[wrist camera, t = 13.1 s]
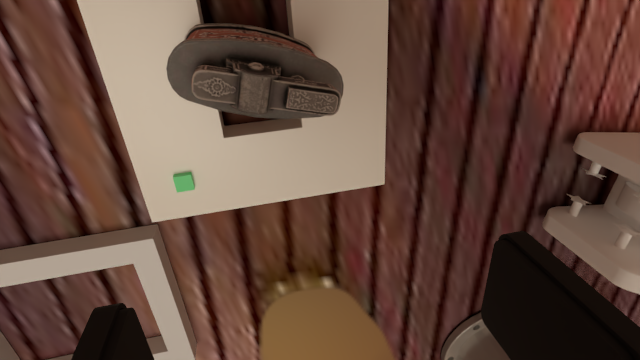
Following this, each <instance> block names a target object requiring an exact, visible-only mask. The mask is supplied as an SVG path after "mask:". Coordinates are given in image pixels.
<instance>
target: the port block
mask: <svg viewBox="0 0 640 360" xmlns="http://www.w3.org/2000/svg"><path fill="white" fill-rule="evenodd" d="M77 2H78V5H79V8H80V11H81V14H82V17H83V20H84V23H85V26H86V29H87V32H88V35H89V38H90V41H91V44H92V47H93V49H94V52H95V55H96V58H97V61H98V64H99V67H100V70H101V73H102V76H103V79H104V82H105V85H106V88H107V91H108V94H109V97H110V100H111V102H112V105H113V108H114V111H115V114H116V117H117V120H118V123H119V126H120V129H121V132H122V135H123V138H124V141H125V144H126V147H127V150H128V153H129V155H130V158H131V161H132V164H133V167H134V170H135V173H136V176H137V179H138V182H139V185H140V188H141V191H142V194H143V197H144V200H145V203H146V206H147V208H148V211H149V214H150V217H151V220H152V222H158V221H164V220H170V219H176V218H182V217H188V216H194V215H200V214H206V213H213V212H219V211H225V210H231V209H237V208H243V207H249V206H255V205H261V204H267V203H273V202H280V201H286V200H292V199H298V198H304V197H310V196H316V195H322V194H328V193H334V192H340V191H346V190H353V189H359V188H365V187H371V186H377V185H383V184H385V140H386V93H387V46H388V0H286V9H287V19H288V30H289V36H290V37H292V38H295V39H297V40H300V41H302V42H304V43H306V44H307V45H309V46H310V47H311V48H312V50H313V51H314V53H315V56H317V57H318V58H320V59H322V60H325V61H327V62H329V63H330V64H331V65H333V66H334V67H335V68H337V70H338V71H339V73H340V74H341V76H342V80H343V84H344V88H343V96H342V98H341V103H340V107H339V110H338V112H337V113H336V114H334V115H332V116H322V117H314V118H299V119H275V120H267V121H259V122H252V123H244V124H236V125H229V126H224V122H223V117H222V112H221V111H220V110H217V109H214V108H211V107H207V106H204V105H201V104H197V103H194V102H191V101H188V100H186V99H184V98H182V97H180V96H179V95H178V94H177V93H176V92H175V91H174V90H173V89H172V87H171V85H170V83H169V81H168V77H167V70H166V67H167V62H168V57H169V56H170V54H171V52H172V51H173V49H174V48H175V47H176V46H177V45H178V44H179V43H181V42H182V41H184V38H185V36H186V35H187V33H188V31H189V30H190V29H191V28H193V27H194V26H195V25H198V24H204V21H203V16H202V11H201V6H200V1H199V0H77Z"/></svg>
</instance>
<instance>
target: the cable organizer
mask: <svg viewBox="0 0 640 360" xmlns="http://www.w3.org/2000/svg"><path fill="white" fill-rule="evenodd" d="M572 149H573V151H574V152H576V153H577V154H579V155H581V156H583V157H585V158H587V159H589V160H591V161H592V163H591V166H590V168H589V170H586V169H583V168H581V169H583V170H585V171H586V173H585V174H589V175H593V176H596V177H598V178H600V179H602V178H601V177H606V176H603V175H600V174H598V173H599V170H600V168H601V166H603V167H605V168H607V169H609V170H611V171H613V172H615V173H617V174H619V175H618V177H617V179H616V181H615V183H614V185H613V187H612V189H611V191H610V193H609V195H608V197H607V199H606V201H605V203H604V204H603V205H586V204H585V203H589V202H587V201H584V200H582V199H581V198H580V197H579V196H572V195H569V194H567V195H569V196H570V197H571V200H572V201H573V203H572V205H571V206H558V207H553V208H550V209H549V210H548V211H547V214H546V216H545V218H544V221H543V223H542V226H543V228H544V229H545V230H546V231H547V232H548V233H550V234H551V235H552V236H553V237H555V238H556V239H557V240H558V241H560V242H561V243H562V244H564V245H565V246H566V247H567V248H569V249H570V250H571V251H572V252H574V253H575V254H576V255H577V256H579V257H580V258H581V259H583V260H584V261H585V262H586V263H588V264H589V265H590V266H591V267H593V268H594V269H595V270H596V271H598V272H599V273H600V274H602V275H603V276H604V277H605V278H607V279H608V280H609V281H610V282H612V283H613V284H615V285H616V286H618V287H620V288H622V289H625V290H627V291H631V292H634V293H638V294H639V295H640V133H635V132H583V133H580V134H578V136H577V138H576V140H575V143H574V145H573V148H572ZM602 180H603V179H602ZM590 204H591V203H590Z"/></svg>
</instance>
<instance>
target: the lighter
mask: <svg viewBox="0 0 640 360" xmlns="http://www.w3.org/2000/svg"><path fill="white" fill-rule="evenodd" d="M166 70H167V77H168V81H169V83H170V85H171V87H172V89H173V90H174V91H175V92H176V93H177V94H178V95H179V96H180V97H182V98H184V99H186V100H188V101H191V102H194V103H197V104H201V105H204V106H207V107H211V108H214V109H217V110H220V111H225V112H230V113H235V114H241V115H246V116H251V117H259V118H278V119H299V118H314V117H322V116H332V115H334V114H336V113H337V112H338V110H339V107H340V103H341V98H342V96H343V88H344V84H343V80H342V76H341V74H340V73H339V71H338V70H337V68H335V67H334V66H333V65H331V64H330V63H329V62H327V61H325V60H322V59H320V58H318V57H317V56H315V53H314V51H313V50H312V48H311V47H310V46H309V45H307V44H306V43H304V42H302V41H300V40H297V39H295V38H292V37H290V36H287V35H285V34H282V33H279V32H276V31H272V30H268V29H264V28H260V27H256V26H249V25H240V24H231V23H211V24H198V25H195V26H194V27H193V28H191V29H190V30H189V31H188V33H187V35H186V36H185V38H184V41H182V42H181V43H179V44H178V45H177V46H176V47H175V48H174V49H173V51H172V52H171V54H170V56H169V57H168V62H167V67H166Z"/></svg>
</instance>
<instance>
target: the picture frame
mask: <svg viewBox="0 0 640 360" xmlns="http://www.w3.org/2000/svg"><path fill="white" fill-rule="evenodd" d="M128 264H134V266H135V269H136V271H137V274H138V276H139V279H140V281H141V284H142V286H143V289H144V291H145V294H146V297H147V299H148V302H149V304H150V307H151V309H152V312H153V314H154V317H155V319H156V322H157V324H158V327H159V330H160V332H161V335H162V336H157V337H152V338H147V339H146V340H147V342H148V345H149V347H150V350H151V352H152V355H153V357H154V360H195V357H196V347H197V342H196V339H195V336H194V333H193V330H192V327H191V324H190V321H189V318H188V315H187V312H186V309H185V306H184V303H183V300H182V297H181V294H180V291H179V288H178V285H177V282H176V279H175V276H174V273H173V270H172V267H171V264H170V261H169V258H168V255H167V252H166V249H165V245H164V242H163V239H162V236H161V233H160V230H159V227H158V224H154V225H148V226H142V227H136V228H130V229H124V230H118V231H112V232H106V233H100V234H94V235H88V236H82V237H76V238H70V239H64V240H58V241H52V242H45V243H39V244H33V245H27V246H21V247H15V248H9V249H3V250H0V287H5V286H10V285H16V284H22V283H27V282H33V281H38V280H44V279H50V278H55V277H61V276H66V275H72V274H78V273H83V272H89V271H94V270H100V269H106V268H111V267H117V266H122V265H128ZM72 356H73V354H71V355H66V356H61V357H56V358H51V359H47V360H71V359H72ZM0 360H20V358H19V357H18V356H17V354H16V353H15V351H14V350H13V348H12V347H11V345H10V344H9V343H8V341H7V340H6V338H5V337H4V335H3V334H2V332H1V331H0Z"/></svg>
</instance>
